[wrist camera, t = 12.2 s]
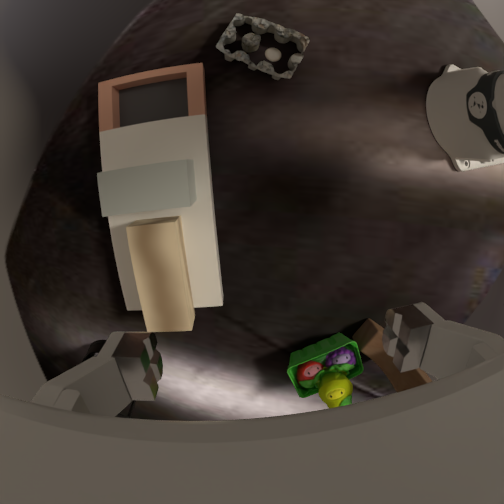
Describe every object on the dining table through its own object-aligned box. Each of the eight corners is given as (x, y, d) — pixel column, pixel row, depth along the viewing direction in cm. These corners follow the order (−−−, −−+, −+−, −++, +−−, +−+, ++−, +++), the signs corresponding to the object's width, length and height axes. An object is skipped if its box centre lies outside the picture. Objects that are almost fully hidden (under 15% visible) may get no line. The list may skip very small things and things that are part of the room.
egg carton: (307, 49, 34) (315, 38, 30) (283, 89, 35) (289, 81, 31) (238, 17, 31) (239, 4, 28) (212, 56, 33) (211, 46, 29)
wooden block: (350, 336, 47) (394, 410, 30) (367, 316, 46) (420, 385, 29) (381, 355, 49) (425, 422, 32) (397, 337, 48) (448, 400, 31)
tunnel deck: (204, 69, 34) (197, 47, 25) (223, 296, 43) (221, 326, 35) (106, 87, 33) (80, 73, 25) (133, 301, 43) (115, 329, 35)
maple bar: (180, 215, 36) (174, 221, 32) (195, 315, 40) (191, 330, 37) (136, 220, 36) (125, 227, 32) (154, 317, 40) (147, 332, 36)
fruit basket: (345, 322, 46) (371, 364, 35) (356, 359, 49) (379, 401, 38) (280, 349, 47) (292, 397, 36) (297, 384, 49) (309, 430, 39)
